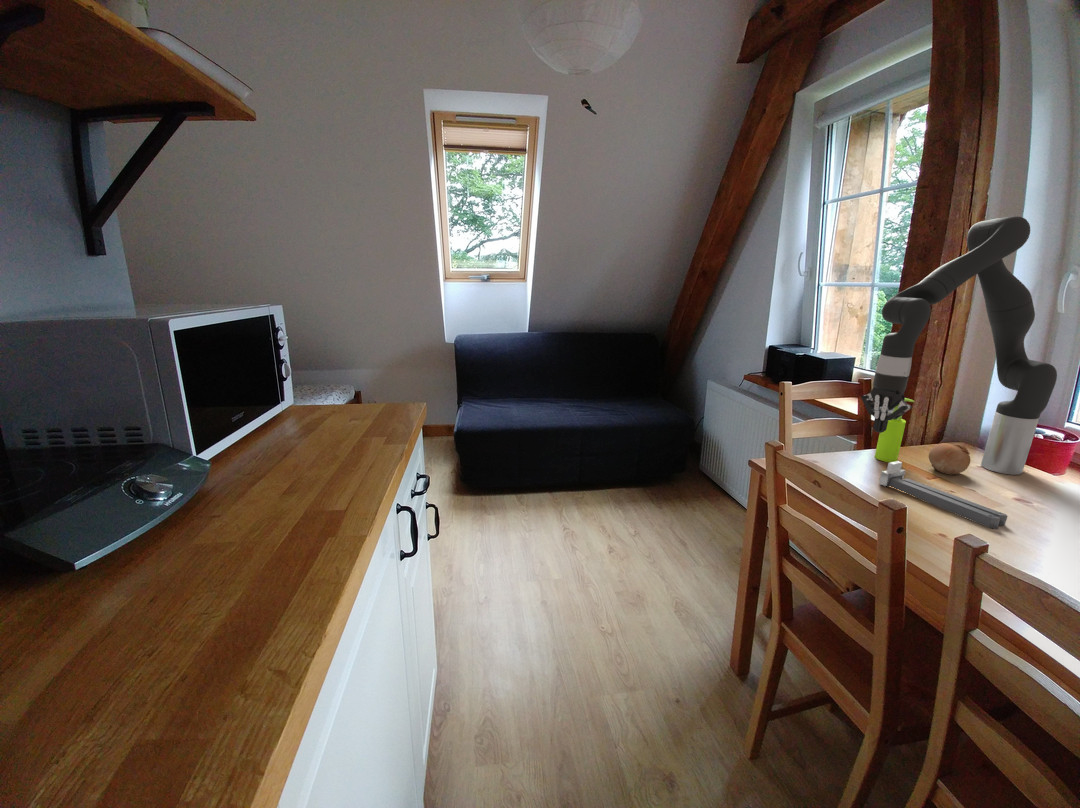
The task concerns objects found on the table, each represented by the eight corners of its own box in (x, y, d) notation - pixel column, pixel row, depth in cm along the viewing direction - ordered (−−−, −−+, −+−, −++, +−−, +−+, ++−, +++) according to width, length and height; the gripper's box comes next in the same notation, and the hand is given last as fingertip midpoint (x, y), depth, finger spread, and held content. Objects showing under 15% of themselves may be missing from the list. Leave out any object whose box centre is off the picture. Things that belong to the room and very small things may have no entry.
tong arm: (901, 486, 133) (902, 479, 132) (905, 485, 133) (907, 478, 133) (1002, 525, 113) (1004, 517, 112) (1006, 524, 114) (1009, 515, 113)
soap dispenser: (904, 463, 149) (918, 401, 143) (879, 461, 150) (893, 400, 145) (895, 456, 155) (908, 396, 149) (871, 454, 156) (883, 395, 150)
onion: (957, 482, 143) (983, 456, 139) (948, 481, 138) (975, 454, 134) (925, 461, 150) (950, 435, 146) (915, 459, 144) (941, 433, 140)
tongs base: (880, 483, 135) (881, 475, 134) (890, 480, 137) (892, 472, 136) (994, 529, 112) (997, 519, 111) (1005, 525, 113) (1008, 516, 113)
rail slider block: (878, 483, 134) (883, 463, 133) (895, 479, 137) (899, 459, 135) (886, 486, 133) (890, 465, 131) (902, 482, 135) (907, 462, 133)
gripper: (859, 368, 136) (847, 426, 141) (908, 378, 124) (894, 441, 129) (877, 366, 139) (865, 423, 143) (927, 376, 127) (912, 437, 132)
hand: (878, 431), depth 136 cm, fingers closed
